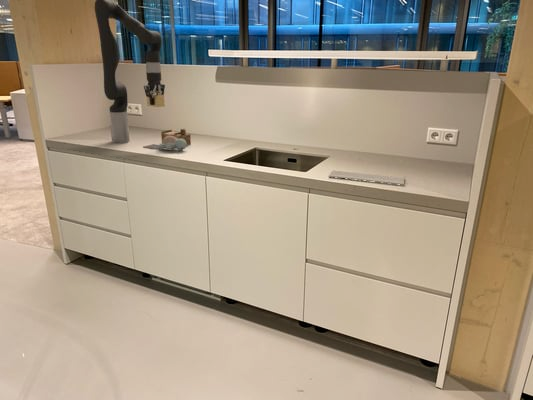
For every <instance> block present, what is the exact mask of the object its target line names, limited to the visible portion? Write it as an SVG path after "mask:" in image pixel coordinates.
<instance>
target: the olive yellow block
mask: <svg viewBox="0 0 533 400" xmlns="http://www.w3.org/2000/svg"><path fill="white" fill-rule="evenodd" d="M151 95H152V94H151ZM153 98H154V105H150V98H149V97H146V105H147V106H148V107H153V108H154V107H155V108H160V107H161V108H163V107H165V94H164V95H159V93H158V94H156V93H155V94H154V97H153Z"/></svg>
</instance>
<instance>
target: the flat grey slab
mask: <svg viewBox="0 0 533 400" xmlns="http://www.w3.org/2000/svg"><path fill="white" fill-rule="evenodd" d="M328 177H337V178H347V179H357V180H366V181H375V182H383V183H391V184H400V185H405V180H406V177H400V176H392V175H391V176H389V175H381V174H380V175H379V174H373V173H371V174H370V173H360V172H351V171H343V170H342V171H341V170H332V171H331V172H330V173H329V174H328Z"/></svg>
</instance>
